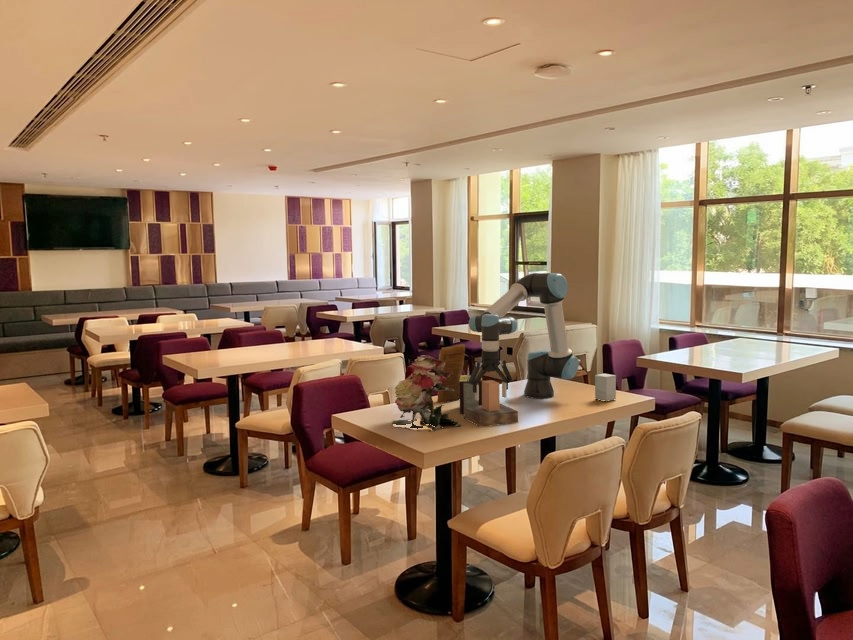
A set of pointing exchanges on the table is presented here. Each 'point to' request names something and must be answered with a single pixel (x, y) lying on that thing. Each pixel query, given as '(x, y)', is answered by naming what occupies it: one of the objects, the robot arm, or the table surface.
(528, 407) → the table surface
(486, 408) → the carton
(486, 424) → the display podium
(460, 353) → the pancake mix bag
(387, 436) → the table surface
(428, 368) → the rose bouquet
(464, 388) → the protein box
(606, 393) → the supplement box
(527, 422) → the table surface
